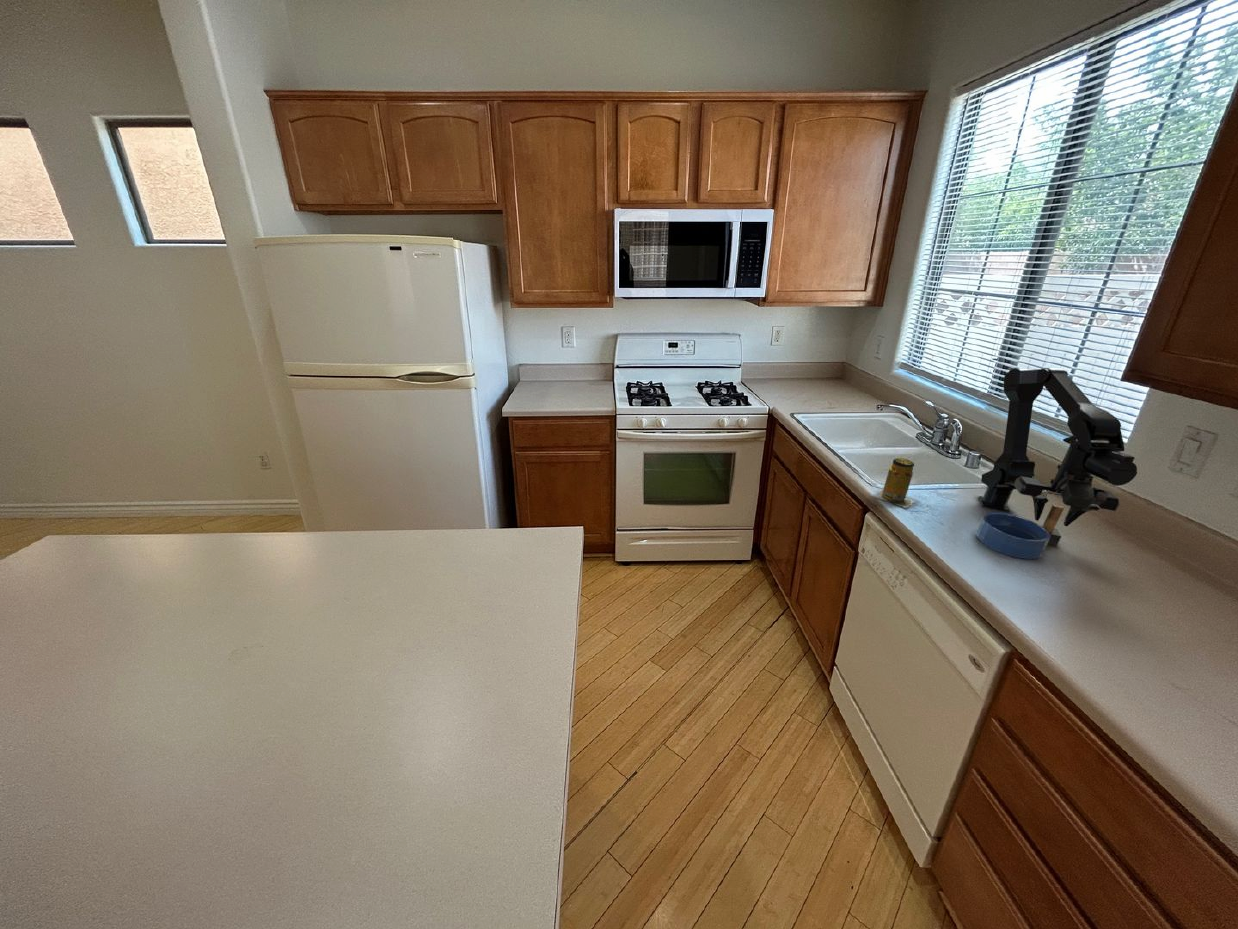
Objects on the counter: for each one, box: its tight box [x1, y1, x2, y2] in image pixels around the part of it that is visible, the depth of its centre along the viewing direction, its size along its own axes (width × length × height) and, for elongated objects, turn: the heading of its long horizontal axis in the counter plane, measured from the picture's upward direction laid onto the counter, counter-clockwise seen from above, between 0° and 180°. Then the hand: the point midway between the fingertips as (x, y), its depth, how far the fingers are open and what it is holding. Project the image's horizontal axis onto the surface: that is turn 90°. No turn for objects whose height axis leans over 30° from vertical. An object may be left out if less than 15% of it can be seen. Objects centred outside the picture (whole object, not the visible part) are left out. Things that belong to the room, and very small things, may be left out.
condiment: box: [875, 457, 917, 509], centre depth 136 cm, size 7×8×12 cm
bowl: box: [975, 512, 1050, 560], centre depth 117 cm, size 13×13×6 cm
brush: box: [1041, 503, 1065, 547], centre depth 119 cm, size 4×5×10 cm
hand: (1050, 522), depth 119 cm, fingers open, 5 cm apart
